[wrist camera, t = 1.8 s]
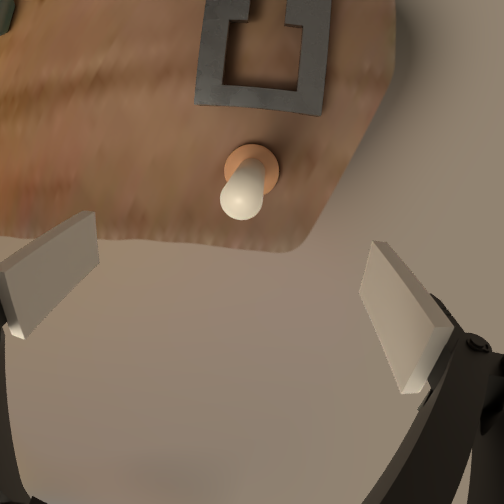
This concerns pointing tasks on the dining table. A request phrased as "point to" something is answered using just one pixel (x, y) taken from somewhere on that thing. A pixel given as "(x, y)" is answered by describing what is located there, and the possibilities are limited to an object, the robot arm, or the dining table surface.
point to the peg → (248, 180)
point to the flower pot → (6, 15)
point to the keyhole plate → (216, 94)
